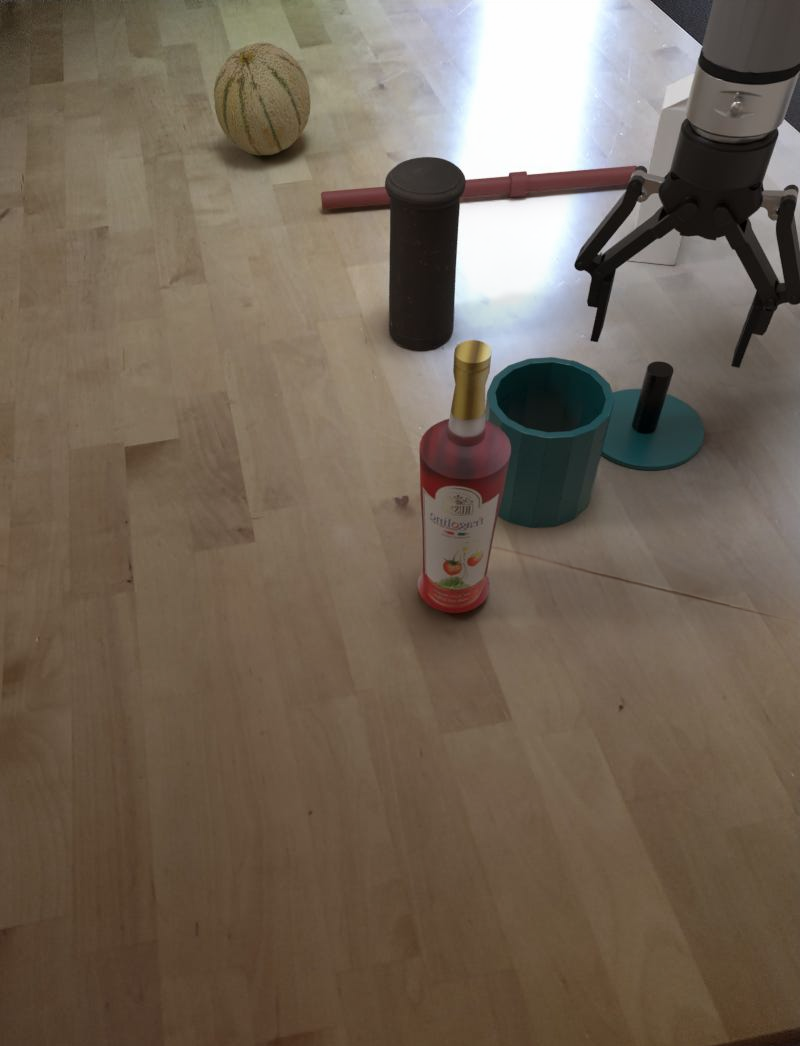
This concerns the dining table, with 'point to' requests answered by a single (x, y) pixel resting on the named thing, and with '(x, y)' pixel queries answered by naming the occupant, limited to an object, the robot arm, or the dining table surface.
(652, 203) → the milk
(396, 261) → the container
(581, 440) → the teal pot
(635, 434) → the teal lid
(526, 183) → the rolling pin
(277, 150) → the cantaloupe
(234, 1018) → the dining table surface
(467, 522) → the liquor
